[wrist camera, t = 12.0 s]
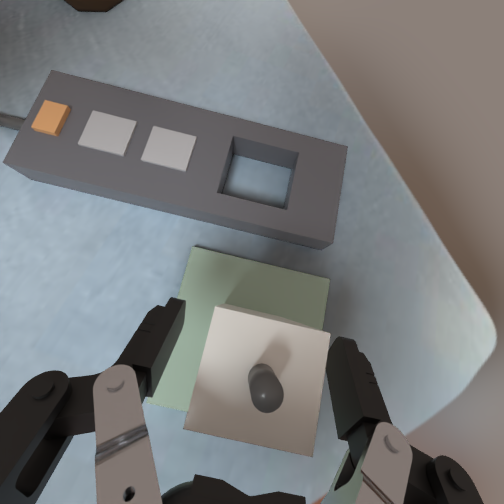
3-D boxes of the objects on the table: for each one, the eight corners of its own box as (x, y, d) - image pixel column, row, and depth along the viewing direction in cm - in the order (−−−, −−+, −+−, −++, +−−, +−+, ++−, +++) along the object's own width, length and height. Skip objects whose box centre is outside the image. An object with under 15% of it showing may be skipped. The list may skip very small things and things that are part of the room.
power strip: (-34, 163, 20) (-79, 140, 17) (13, 80, 22) (-20, 47, 19) (321, 249, 21) (335, 241, 18) (335, 163, 23) (349, 143, 20)
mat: (148, 400, 17) (146, 403, 17) (193, 247, 20) (192, 246, 19) (304, 433, 18) (306, 437, 17) (327, 279, 20) (330, 279, 20)
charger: (210, 358, 18) (171, 458, 6) (224, 303, 19) (211, 307, 7) (268, 371, 18) (330, 491, 7) (279, 316, 19) (349, 339, 8)
